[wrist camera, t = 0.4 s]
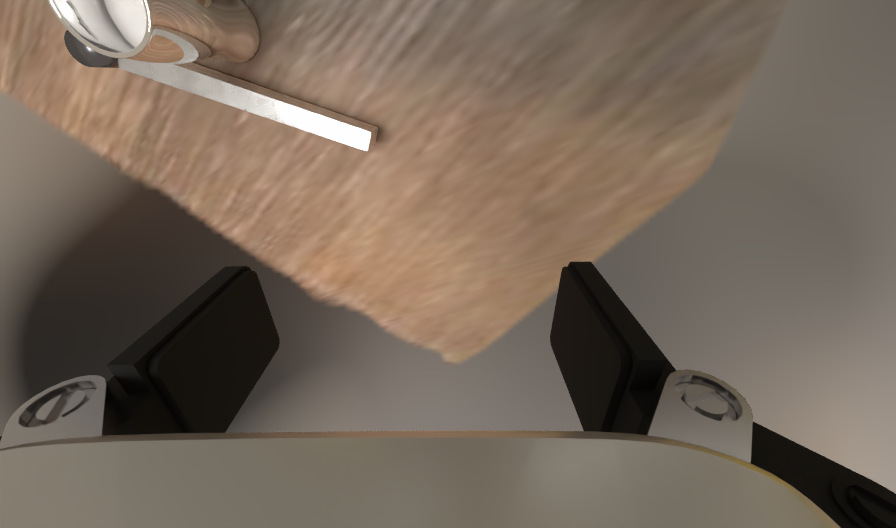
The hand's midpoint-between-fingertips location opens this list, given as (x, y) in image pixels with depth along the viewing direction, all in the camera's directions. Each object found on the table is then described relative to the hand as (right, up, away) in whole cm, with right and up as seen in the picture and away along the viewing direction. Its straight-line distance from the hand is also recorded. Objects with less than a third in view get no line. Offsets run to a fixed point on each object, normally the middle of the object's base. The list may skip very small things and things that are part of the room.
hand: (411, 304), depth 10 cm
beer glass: (-22, +26, +24) cm, 42 cm away
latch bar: (-20, +20, +26) cm, 38 cm away
